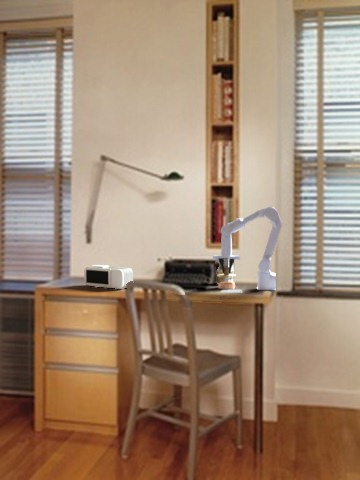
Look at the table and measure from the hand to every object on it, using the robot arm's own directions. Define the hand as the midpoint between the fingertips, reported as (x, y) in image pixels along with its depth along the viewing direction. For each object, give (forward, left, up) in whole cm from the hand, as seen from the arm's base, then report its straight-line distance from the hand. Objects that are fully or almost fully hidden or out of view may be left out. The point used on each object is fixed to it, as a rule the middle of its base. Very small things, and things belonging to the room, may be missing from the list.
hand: (226, 272), depth 288 cm
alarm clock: (+64, -3, -9) cm, 65 cm away
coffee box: (0, -19, -9) cm, 21 cm away
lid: (0, 0, -2) cm, 2 cm away
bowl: (0, 0, -8) cm, 8 cm away
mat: (-2, +12, -8) cm, 15 cm away
